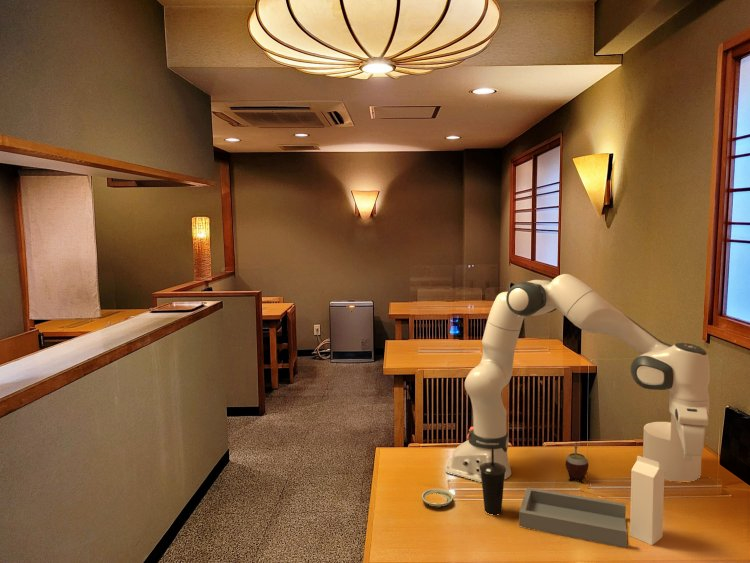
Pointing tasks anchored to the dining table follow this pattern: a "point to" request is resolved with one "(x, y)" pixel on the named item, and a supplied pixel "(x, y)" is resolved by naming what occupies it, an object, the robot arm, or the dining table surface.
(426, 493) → the saucer
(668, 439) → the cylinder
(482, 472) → the drinking cup
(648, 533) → the milk
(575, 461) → the mate gourd
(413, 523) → the dining table surface
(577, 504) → the trough
